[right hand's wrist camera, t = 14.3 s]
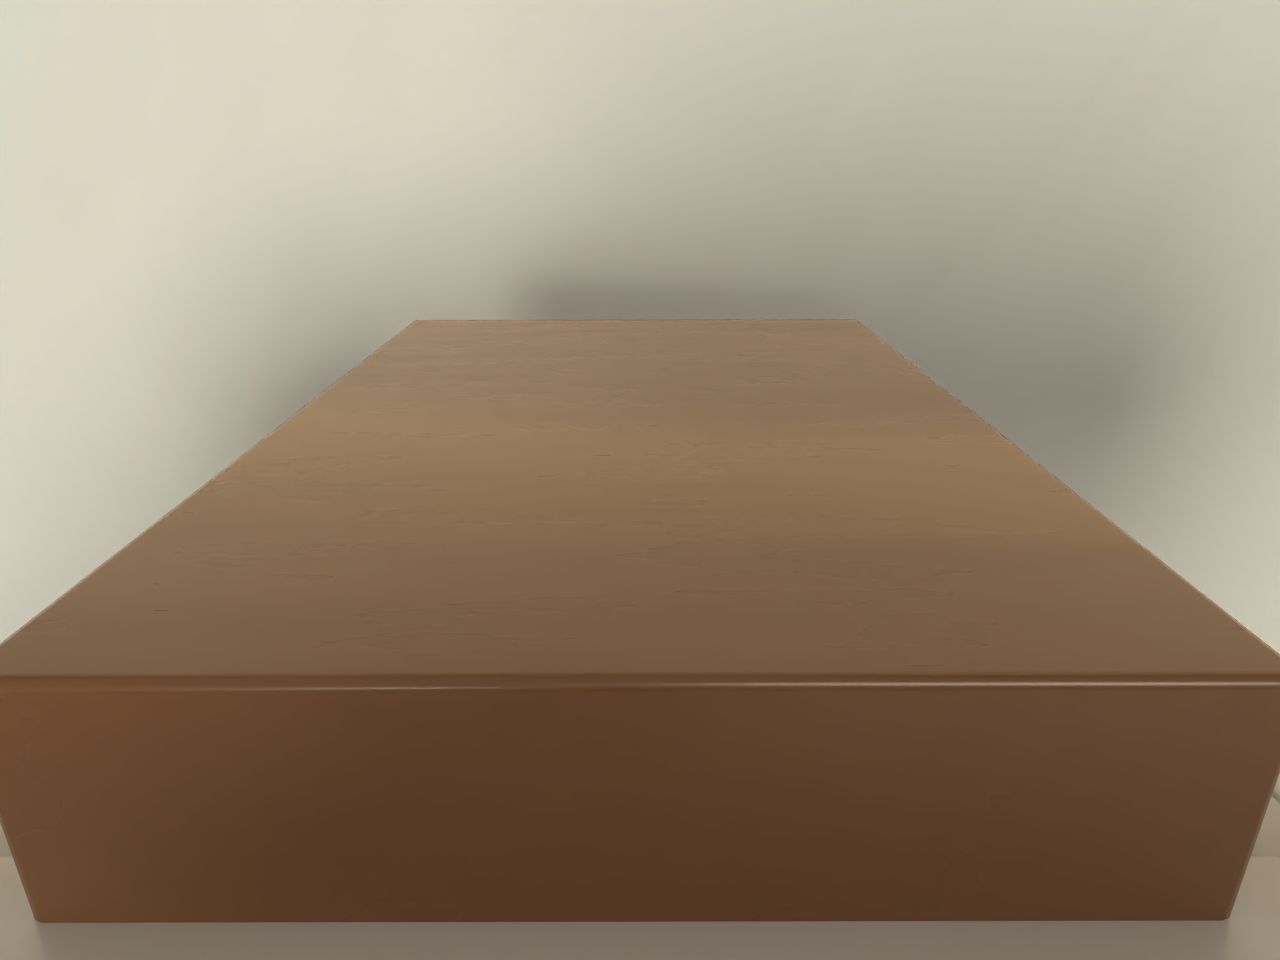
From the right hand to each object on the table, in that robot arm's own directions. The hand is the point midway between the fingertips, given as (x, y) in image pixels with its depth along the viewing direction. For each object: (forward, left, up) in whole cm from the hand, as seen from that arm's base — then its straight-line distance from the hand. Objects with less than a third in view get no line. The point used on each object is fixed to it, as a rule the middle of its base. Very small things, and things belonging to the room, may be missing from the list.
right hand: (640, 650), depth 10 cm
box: (-7, +8, -4) cm, 11 cm away
